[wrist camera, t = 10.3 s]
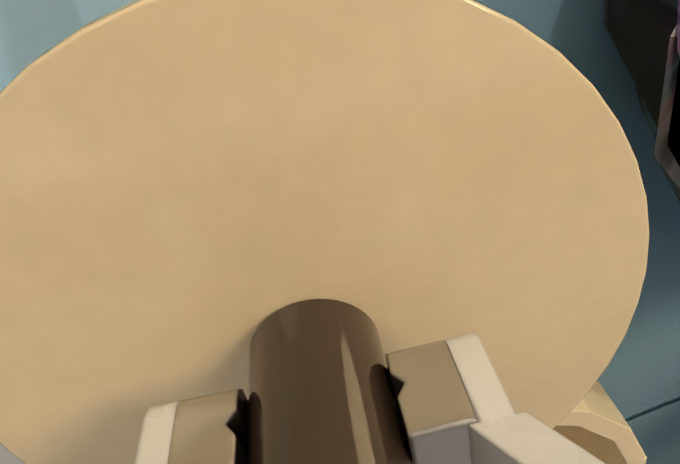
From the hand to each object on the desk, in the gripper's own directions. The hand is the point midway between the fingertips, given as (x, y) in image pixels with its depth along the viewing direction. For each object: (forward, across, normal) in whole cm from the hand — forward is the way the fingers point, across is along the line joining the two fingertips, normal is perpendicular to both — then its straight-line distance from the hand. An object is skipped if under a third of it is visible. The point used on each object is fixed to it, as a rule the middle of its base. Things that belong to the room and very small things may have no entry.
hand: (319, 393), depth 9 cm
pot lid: (+2, 0, 0) cm, 2 cm away
